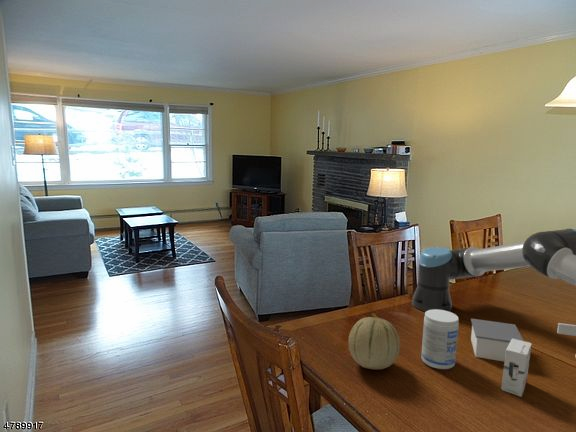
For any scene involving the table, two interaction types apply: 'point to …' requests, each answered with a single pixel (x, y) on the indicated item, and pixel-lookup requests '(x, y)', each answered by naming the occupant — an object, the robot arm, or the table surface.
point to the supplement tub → (440, 339)
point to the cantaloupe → (374, 343)
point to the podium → (492, 338)
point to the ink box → (516, 367)
